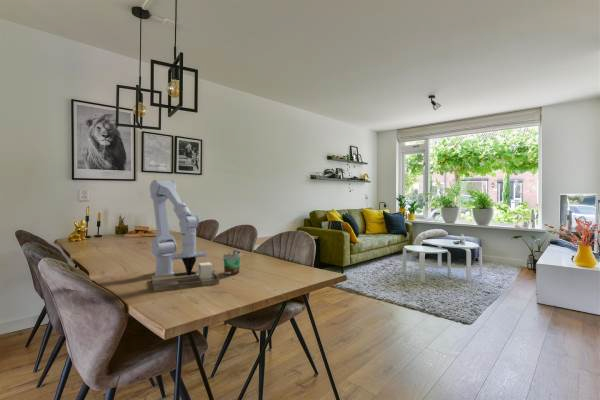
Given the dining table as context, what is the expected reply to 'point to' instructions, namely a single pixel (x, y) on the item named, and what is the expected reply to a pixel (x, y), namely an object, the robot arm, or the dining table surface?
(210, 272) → the block
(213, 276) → the trap deck
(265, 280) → the dining table surface
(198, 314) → the dining table surface
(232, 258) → the food container
